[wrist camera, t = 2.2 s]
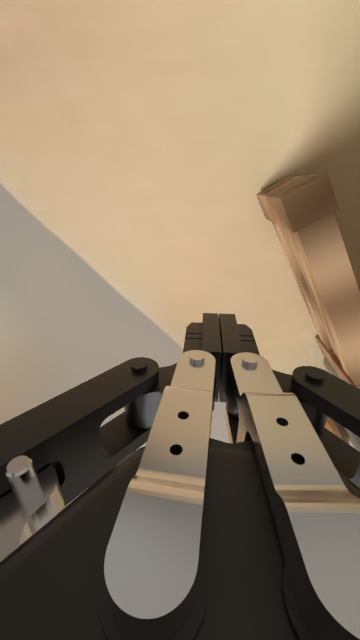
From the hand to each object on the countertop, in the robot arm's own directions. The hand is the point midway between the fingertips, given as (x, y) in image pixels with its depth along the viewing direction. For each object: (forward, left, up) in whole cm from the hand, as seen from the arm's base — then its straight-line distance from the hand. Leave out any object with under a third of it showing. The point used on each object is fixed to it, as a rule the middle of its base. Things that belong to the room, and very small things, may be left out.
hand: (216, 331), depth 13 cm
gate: (+5, +7, -12) cm, 14 cm away
